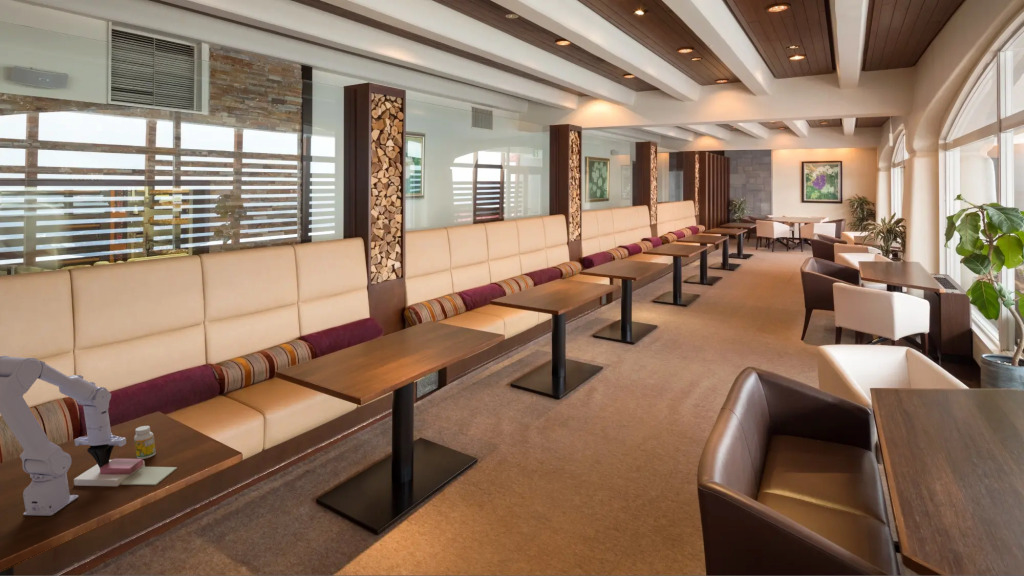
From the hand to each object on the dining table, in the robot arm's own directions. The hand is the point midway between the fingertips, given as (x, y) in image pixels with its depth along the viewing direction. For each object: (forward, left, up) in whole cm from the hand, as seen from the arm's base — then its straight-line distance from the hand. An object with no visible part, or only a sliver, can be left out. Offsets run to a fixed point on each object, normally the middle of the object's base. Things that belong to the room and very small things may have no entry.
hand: (104, 466), depth 171 cm
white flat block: (0, -2, -3) cm, 3 cm away
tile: (0, -5, 0) cm, 6 cm away
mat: (0, -14, -3) cm, 14 cm away
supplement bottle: (+13, -4, -3) cm, 14 cm away
